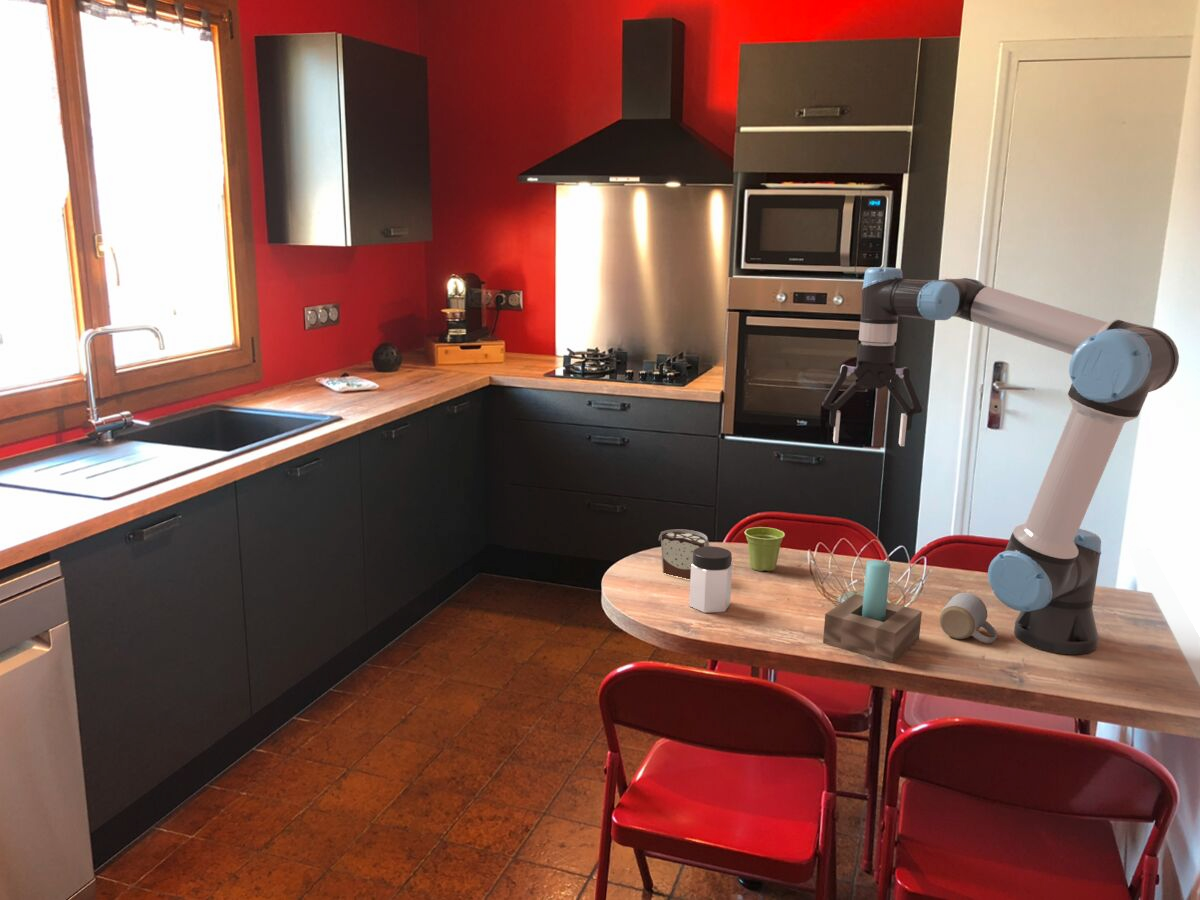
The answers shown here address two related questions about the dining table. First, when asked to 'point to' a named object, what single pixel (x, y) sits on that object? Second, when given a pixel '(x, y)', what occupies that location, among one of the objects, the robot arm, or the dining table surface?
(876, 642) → the hole block
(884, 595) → the pin
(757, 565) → the plant pot
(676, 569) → the food container
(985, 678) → the dining table surface
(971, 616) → the ceramic mug
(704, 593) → the jar
